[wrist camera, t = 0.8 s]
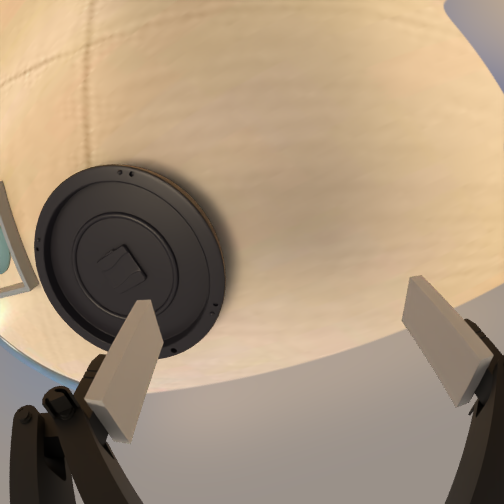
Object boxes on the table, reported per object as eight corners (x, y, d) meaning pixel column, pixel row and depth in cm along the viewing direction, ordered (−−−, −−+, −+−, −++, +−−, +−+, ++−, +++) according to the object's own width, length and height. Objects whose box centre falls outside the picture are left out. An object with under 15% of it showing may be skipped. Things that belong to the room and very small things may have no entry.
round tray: (27, 230, 41) (125, 359, 51) (6, 242, 35) (116, 380, 45) (153, 117, 35) (265, 293, 45) (138, 115, 30) (267, 315, 40)
